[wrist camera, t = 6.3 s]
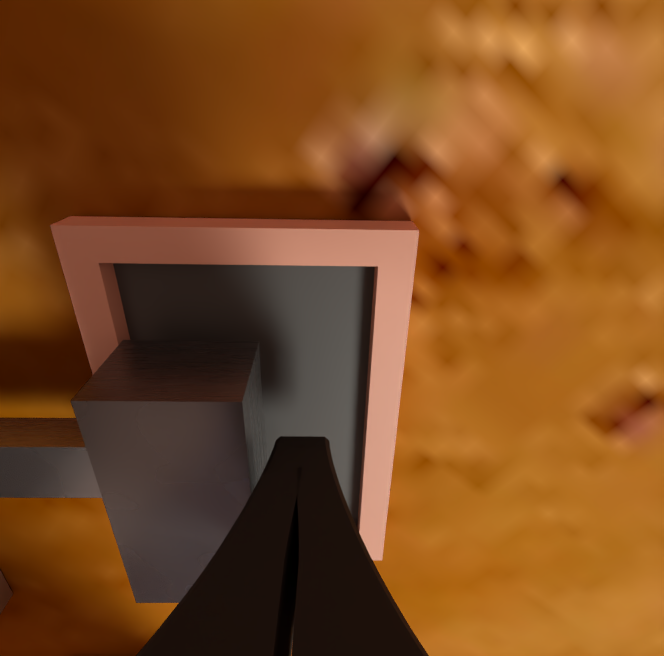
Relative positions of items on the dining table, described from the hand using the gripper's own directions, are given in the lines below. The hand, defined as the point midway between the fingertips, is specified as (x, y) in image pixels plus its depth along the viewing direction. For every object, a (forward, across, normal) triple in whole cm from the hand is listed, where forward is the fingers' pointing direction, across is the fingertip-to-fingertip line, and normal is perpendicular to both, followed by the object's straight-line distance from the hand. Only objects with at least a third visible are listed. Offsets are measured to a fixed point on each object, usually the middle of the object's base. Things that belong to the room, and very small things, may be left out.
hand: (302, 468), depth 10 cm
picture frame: (+2, +1, 0) cm, 3 cm away
